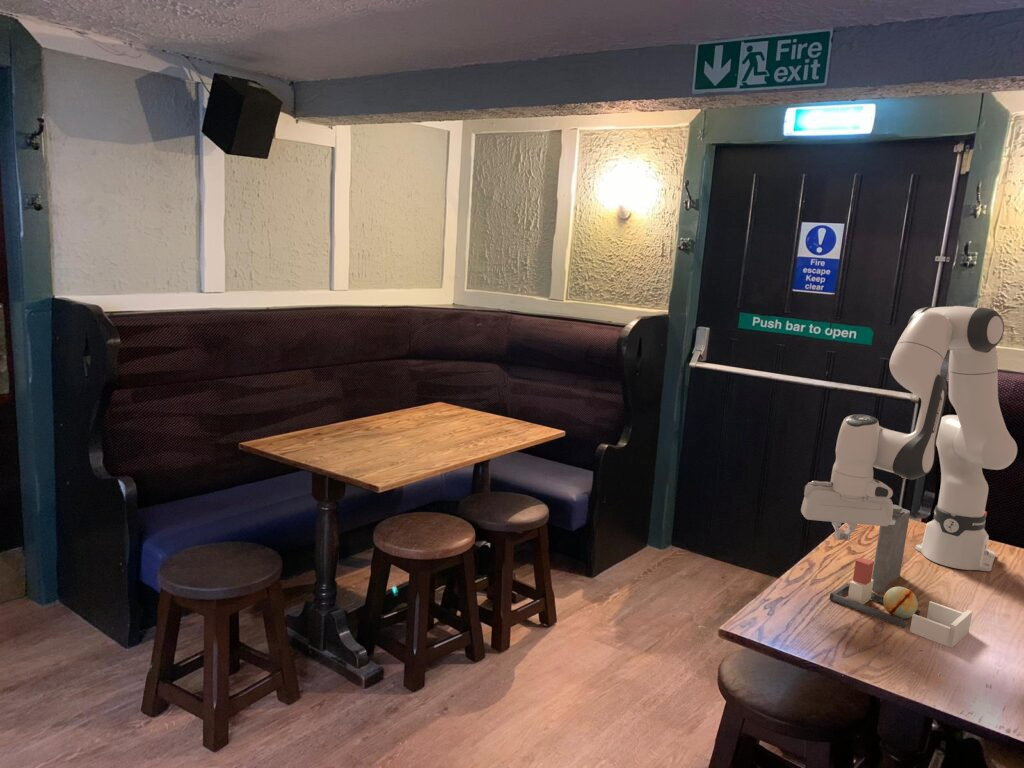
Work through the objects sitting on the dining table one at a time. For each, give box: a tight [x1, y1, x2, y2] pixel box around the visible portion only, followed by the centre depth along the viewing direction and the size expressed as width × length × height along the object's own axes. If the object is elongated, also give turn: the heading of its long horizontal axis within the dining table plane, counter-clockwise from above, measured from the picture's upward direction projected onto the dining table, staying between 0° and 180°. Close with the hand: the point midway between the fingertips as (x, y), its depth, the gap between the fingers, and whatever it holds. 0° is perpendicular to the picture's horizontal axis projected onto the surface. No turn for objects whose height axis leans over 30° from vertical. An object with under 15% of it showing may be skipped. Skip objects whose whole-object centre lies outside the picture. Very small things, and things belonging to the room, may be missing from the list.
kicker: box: [847, 556, 875, 605], centre depth 182 cm, size 6×3×10 cm, turn 133°
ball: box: [883, 586, 919, 620], centre depth 176 cm, size 7×7×7 cm
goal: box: [909, 600, 973, 649], centre depth 170 cm, size 11×8×5 cm
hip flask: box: [871, 504, 911, 594], centre depth 194 cm, size 16×4×20 cm, turn 138°
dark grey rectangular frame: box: [829, 583, 922, 629], centre depth 181 cm, size 9×17×2 cm, turn 43°
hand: (841, 539), depth 185 cm, fingers closed
